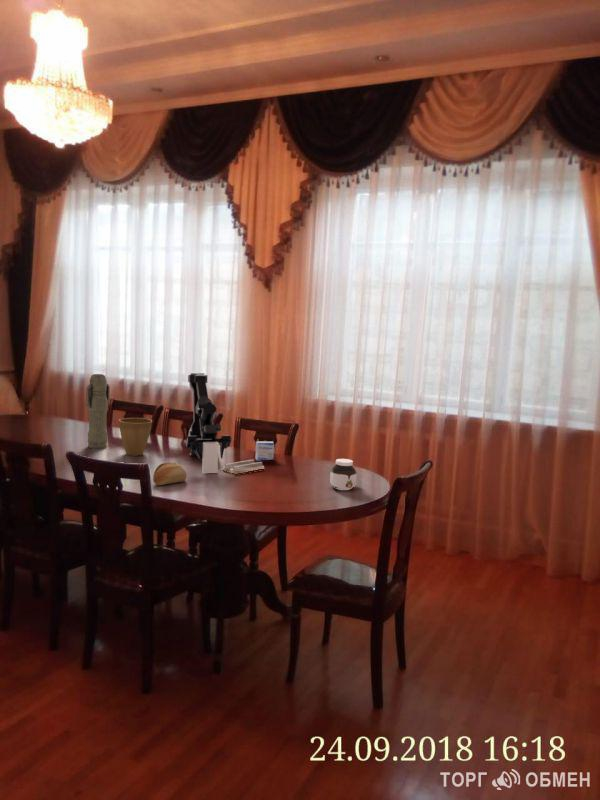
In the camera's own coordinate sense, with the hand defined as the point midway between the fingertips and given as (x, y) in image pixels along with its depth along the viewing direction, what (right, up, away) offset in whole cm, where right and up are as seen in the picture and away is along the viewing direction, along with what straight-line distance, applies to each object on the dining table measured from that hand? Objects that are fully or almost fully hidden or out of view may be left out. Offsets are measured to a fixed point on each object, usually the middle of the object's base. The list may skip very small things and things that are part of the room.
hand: (210, 458), depth 263 cm
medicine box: (+21, -4, +31) cm, 37 cm away
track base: (+13, -6, +10) cm, 17 cm away
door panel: (-1, -6, +2) cm, 7 cm away
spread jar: (+55, -11, -9) cm, 57 cm away
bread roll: (-14, -8, -17) cm, 23 cm away
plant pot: (-39, -1, +28) cm, 48 cm away
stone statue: (-60, +2, +38) cm, 71 cm away
